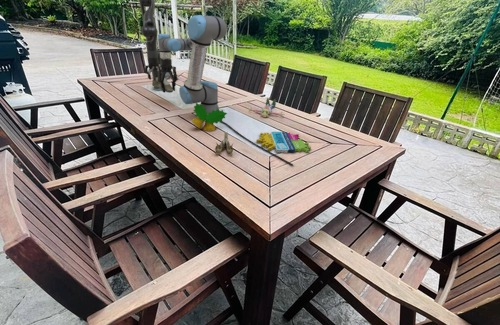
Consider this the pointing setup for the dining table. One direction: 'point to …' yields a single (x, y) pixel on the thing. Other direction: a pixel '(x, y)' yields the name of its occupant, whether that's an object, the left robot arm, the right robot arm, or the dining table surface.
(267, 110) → the toy
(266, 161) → the dining table surface
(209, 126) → the ornament
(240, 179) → the dining table surface
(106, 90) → the dining table surface
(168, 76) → the airplane
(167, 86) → the snakeskin print shoe
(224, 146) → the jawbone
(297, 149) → the sign
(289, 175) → the dining table surface
